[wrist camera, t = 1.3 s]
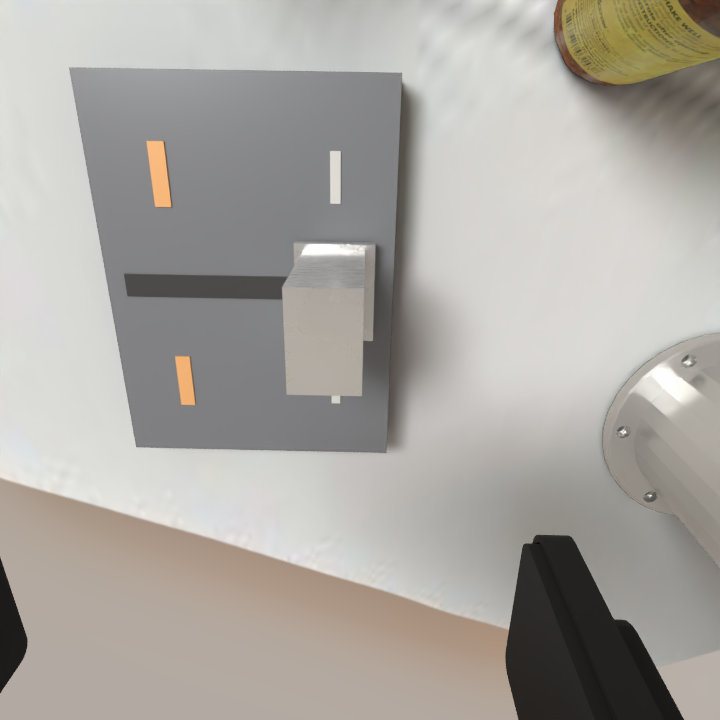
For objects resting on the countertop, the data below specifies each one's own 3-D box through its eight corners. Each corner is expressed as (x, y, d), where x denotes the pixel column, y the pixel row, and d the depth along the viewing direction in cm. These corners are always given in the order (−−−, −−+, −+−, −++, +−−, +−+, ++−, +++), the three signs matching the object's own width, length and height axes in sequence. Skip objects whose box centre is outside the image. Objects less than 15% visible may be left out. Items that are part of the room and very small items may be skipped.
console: (399, 78, 26) (402, 72, 23) (385, 431, 33) (386, 453, 31) (96, 74, 26) (68, 67, 23) (152, 426, 34) (135, 448, 31)
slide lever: (375, 242, 26) (377, 280, 19) (372, 337, 28) (374, 403, 21) (295, 241, 26) (267, 278, 19) (298, 335, 28) (274, 401, 21)
